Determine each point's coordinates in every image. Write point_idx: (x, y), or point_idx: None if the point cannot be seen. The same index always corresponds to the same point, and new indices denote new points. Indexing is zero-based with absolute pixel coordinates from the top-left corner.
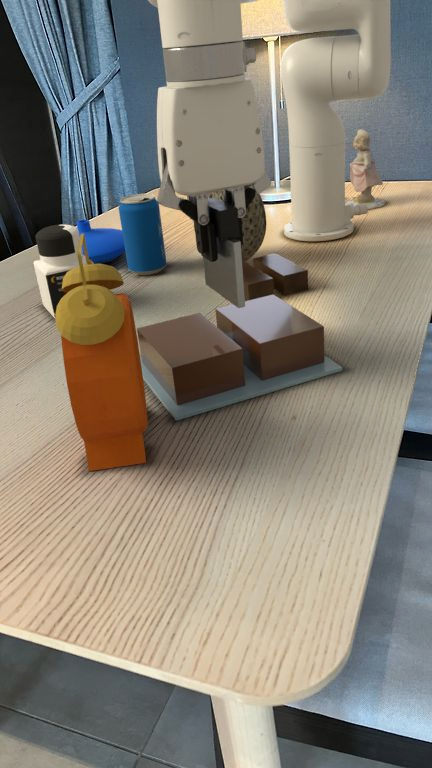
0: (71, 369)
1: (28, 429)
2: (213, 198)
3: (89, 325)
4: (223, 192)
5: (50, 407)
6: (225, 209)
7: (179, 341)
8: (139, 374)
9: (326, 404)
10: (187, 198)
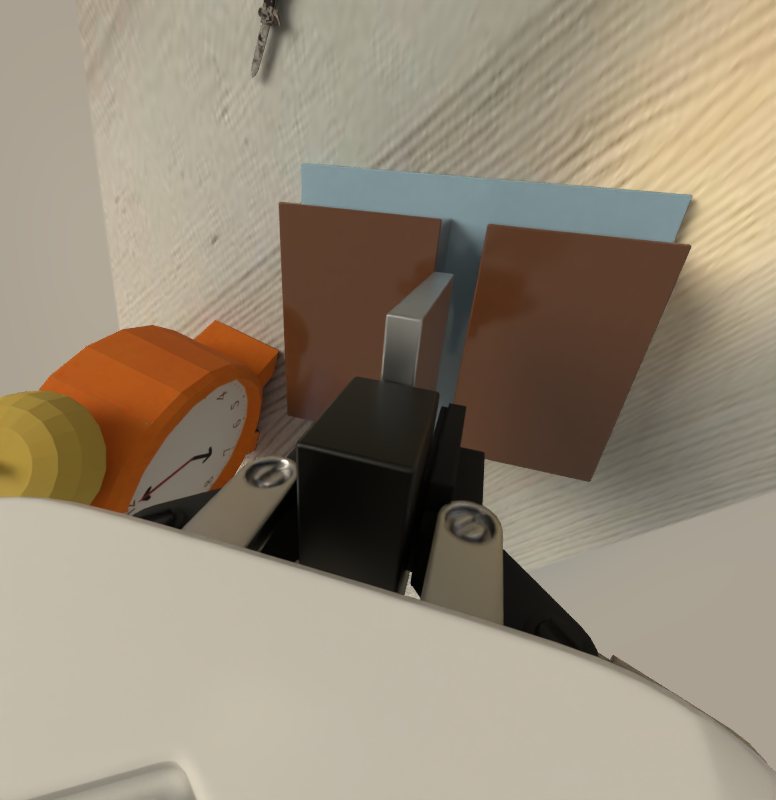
0: None
1: (138, 291)
2: (396, 489)
3: None
4: (422, 591)
5: (163, 248)
6: None
7: (332, 338)
8: (246, 380)
9: (485, 502)
10: (184, 530)
